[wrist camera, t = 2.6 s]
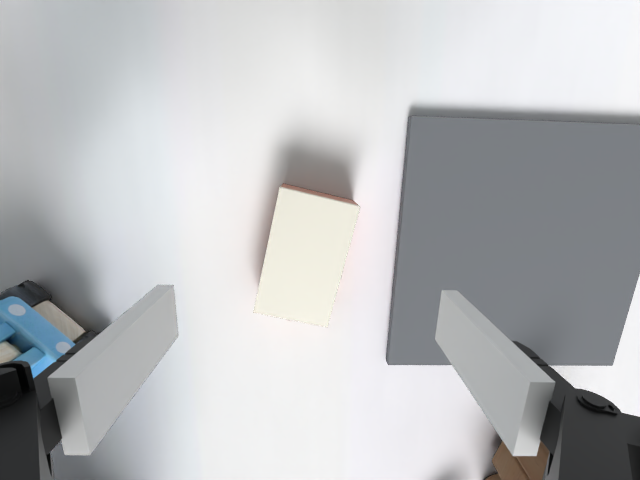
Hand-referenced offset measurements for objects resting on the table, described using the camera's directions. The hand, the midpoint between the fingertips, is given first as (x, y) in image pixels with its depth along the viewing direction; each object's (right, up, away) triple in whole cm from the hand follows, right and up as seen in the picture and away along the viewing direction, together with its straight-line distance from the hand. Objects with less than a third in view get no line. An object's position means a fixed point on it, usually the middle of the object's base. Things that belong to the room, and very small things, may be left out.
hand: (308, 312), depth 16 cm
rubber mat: (+18, +2, +13) cm, 22 cm away
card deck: (-1, +3, +12) cm, 13 cm away
